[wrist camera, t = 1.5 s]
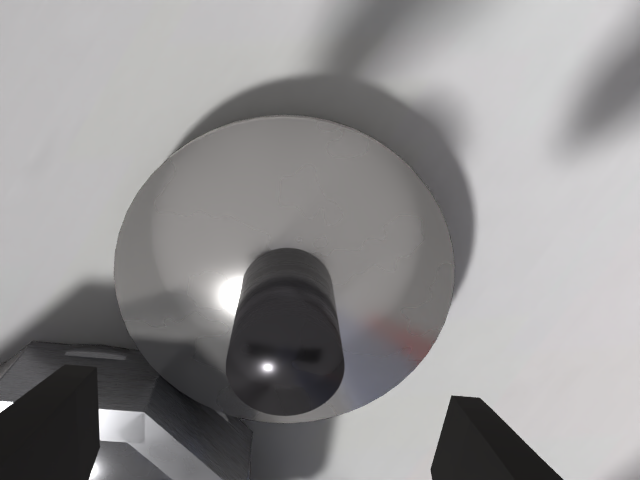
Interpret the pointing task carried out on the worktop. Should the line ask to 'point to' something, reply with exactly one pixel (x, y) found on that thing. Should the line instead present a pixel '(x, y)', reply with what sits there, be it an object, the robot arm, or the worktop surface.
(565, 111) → the worktop surface
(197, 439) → the pot
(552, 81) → the worktop surface
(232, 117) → the worktop surface
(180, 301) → the lid
